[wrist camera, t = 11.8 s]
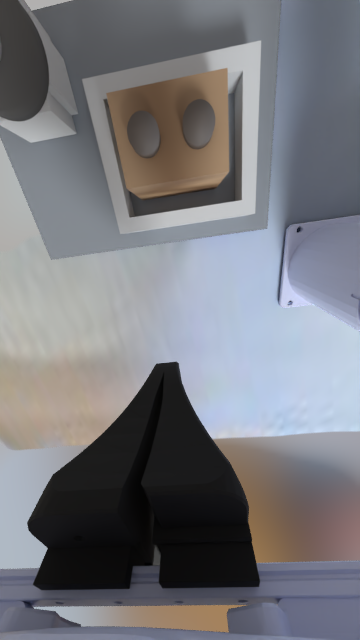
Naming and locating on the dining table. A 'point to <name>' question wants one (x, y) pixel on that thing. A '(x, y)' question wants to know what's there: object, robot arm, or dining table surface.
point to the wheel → (32, 78)
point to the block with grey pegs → (173, 134)
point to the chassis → (136, 70)
